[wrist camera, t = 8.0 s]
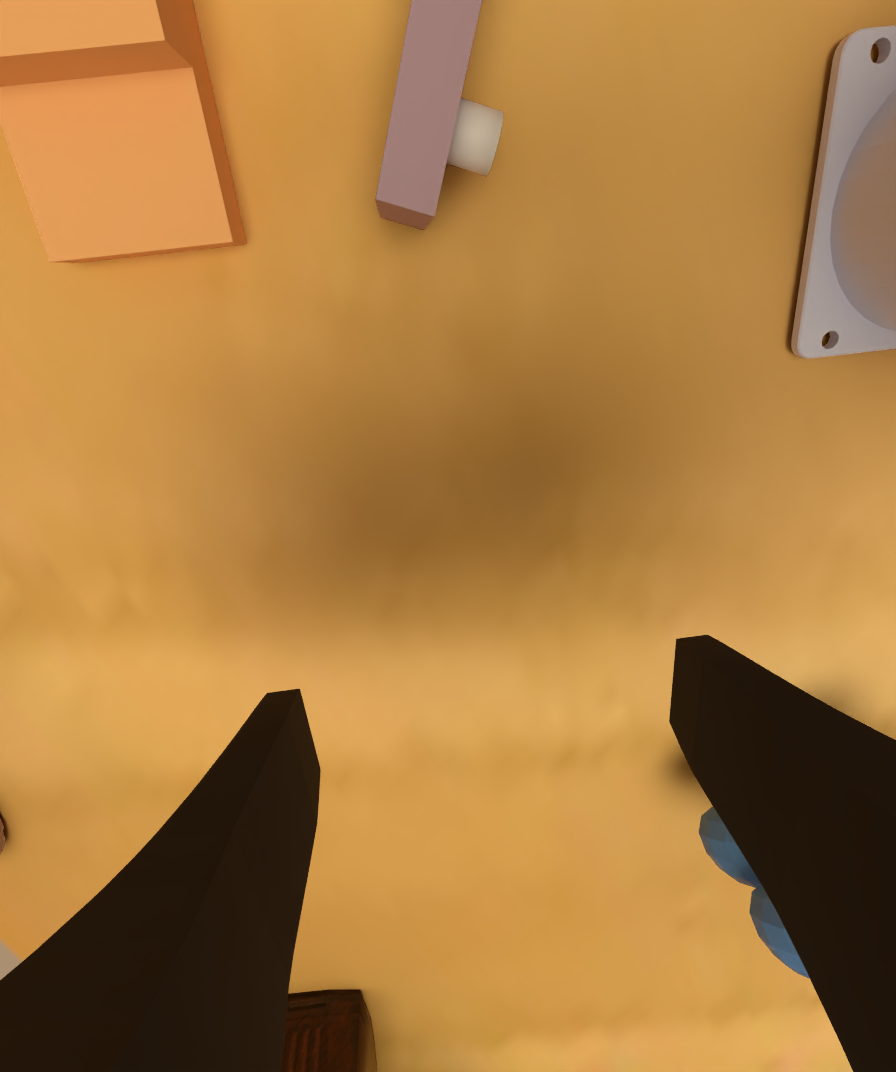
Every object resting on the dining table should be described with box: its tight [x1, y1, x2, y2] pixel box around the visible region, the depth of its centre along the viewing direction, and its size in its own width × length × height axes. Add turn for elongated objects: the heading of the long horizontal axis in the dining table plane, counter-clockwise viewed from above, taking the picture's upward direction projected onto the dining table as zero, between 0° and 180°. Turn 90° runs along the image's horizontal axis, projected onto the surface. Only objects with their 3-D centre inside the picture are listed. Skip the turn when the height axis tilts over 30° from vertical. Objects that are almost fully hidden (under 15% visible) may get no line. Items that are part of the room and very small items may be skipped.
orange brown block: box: [0, 0, 247, 263], centre depth 13 cm, size 4×9×4 cm, turn 6°
